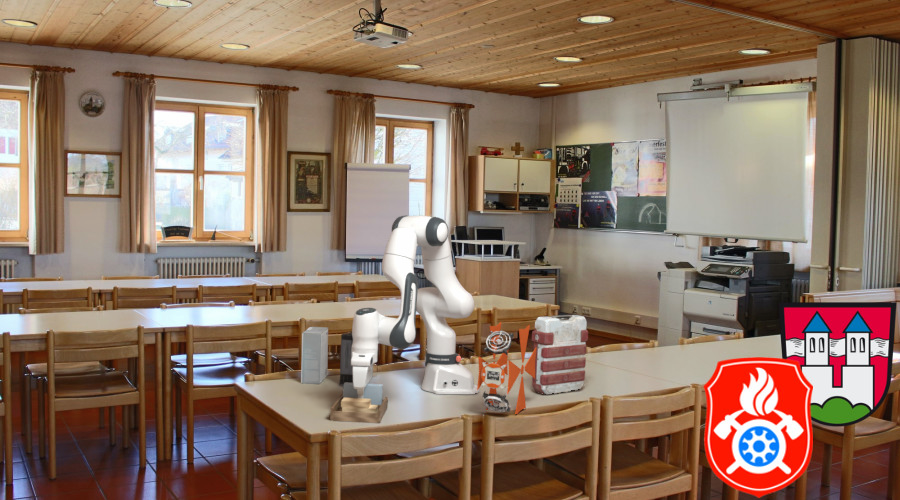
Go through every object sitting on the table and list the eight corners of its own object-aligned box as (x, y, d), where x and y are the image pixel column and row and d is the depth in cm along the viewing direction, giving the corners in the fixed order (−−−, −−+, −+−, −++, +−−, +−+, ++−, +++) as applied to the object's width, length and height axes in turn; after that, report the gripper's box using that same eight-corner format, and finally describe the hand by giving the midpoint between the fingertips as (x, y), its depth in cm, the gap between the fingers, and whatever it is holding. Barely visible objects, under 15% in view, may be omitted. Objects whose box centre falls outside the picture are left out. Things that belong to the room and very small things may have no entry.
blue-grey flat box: (381, 410, 270) (382, 384, 269) (380, 412, 267) (381, 386, 266) (344, 408, 270) (345, 382, 270) (342, 410, 267) (343, 384, 267)
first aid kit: (571, 386, 320) (574, 312, 318) (586, 390, 313) (589, 315, 312) (528, 392, 306) (532, 315, 305) (543, 396, 299) (546, 318, 298)
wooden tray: (387, 408, 273) (387, 396, 272) (379, 423, 253) (380, 410, 253) (341, 405, 273) (341, 394, 273) (330, 420, 254) (330, 408, 254)
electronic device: (353, 387, 302) (354, 335, 301) (338, 386, 303) (340, 334, 302) (360, 382, 311) (362, 332, 310) (346, 381, 312) (348, 331, 311)
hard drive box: (308, 375, 321) (310, 326, 320) (327, 376, 320) (329, 327, 319) (300, 383, 305) (301, 332, 304) (319, 384, 305) (321, 333, 304)
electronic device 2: (475, 417, 265) (479, 328, 263) (506, 399, 293) (509, 319, 291) (506, 422, 261) (510, 332, 259) (534, 403, 288) (537, 321, 287)
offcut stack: (378, 417, 262) (379, 399, 261) (376, 421, 257) (377, 402, 256) (339, 415, 262) (340, 397, 262) (336, 418, 257) (337, 400, 257)
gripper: (360, 350, 278) (358, 389, 279) (350, 361, 258) (348, 403, 259) (377, 351, 278) (376, 390, 279) (369, 362, 258) (367, 404, 258)
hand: (362, 396), depth 268 cm, fingers open, 8 cm apart
